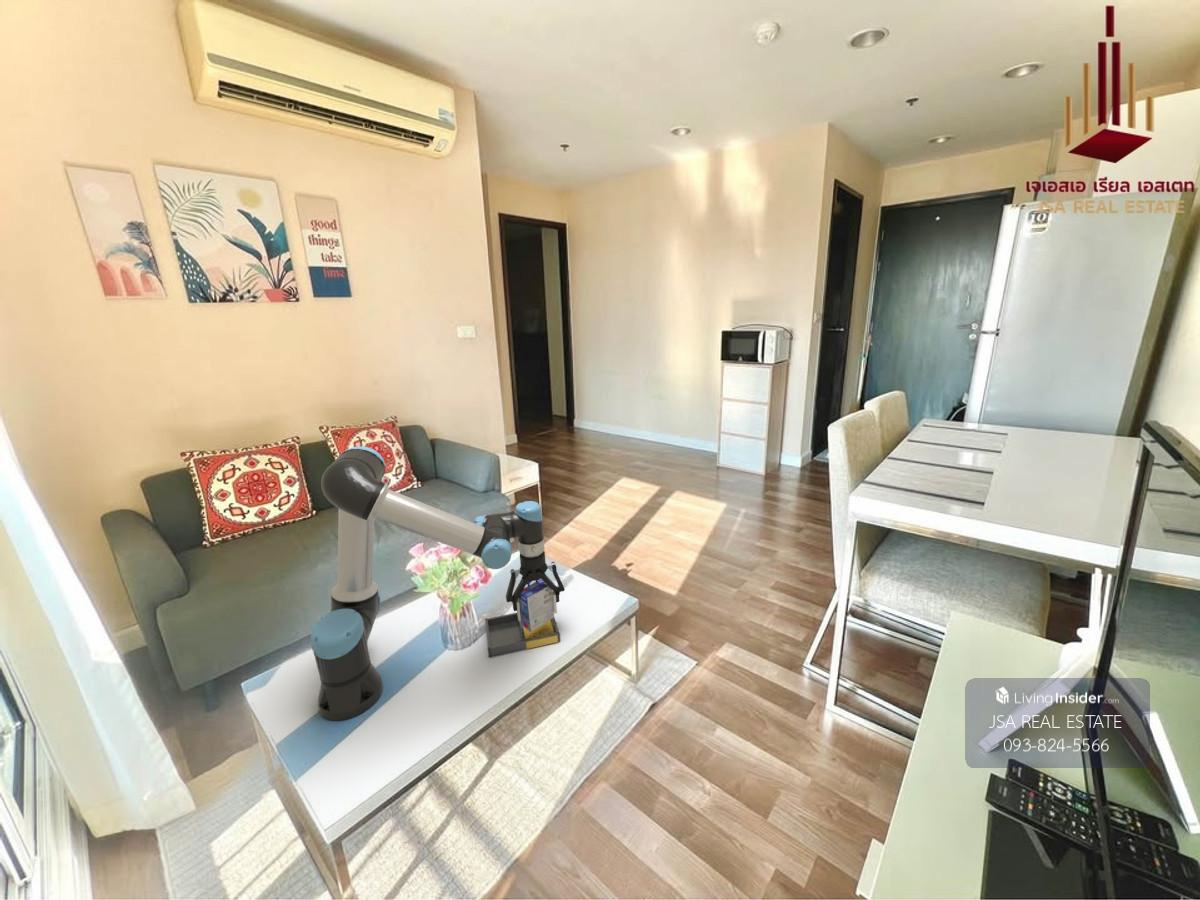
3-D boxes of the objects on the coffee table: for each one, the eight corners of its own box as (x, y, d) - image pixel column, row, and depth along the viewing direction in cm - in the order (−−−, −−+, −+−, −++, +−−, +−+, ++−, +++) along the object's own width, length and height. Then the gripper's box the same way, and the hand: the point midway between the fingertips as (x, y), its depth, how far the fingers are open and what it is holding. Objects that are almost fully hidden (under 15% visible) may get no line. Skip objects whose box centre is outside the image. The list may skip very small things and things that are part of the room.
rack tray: (489, 658, 136) (488, 649, 135) (485, 626, 149) (484, 618, 148) (560, 642, 141) (559, 634, 140) (551, 613, 155) (550, 605, 154)
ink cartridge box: (544, 610, 151) (541, 571, 147) (555, 617, 147) (552, 577, 143) (519, 624, 144) (516, 584, 140) (530, 632, 141) (527, 591, 136)
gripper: (494, 564, 132) (501, 630, 139) (572, 551, 138) (575, 614, 145) (492, 552, 139) (498, 615, 145) (566, 539, 145) (570, 600, 152)
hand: (537, 614), depth 145 cm, fingers closed on ink cartridge box, 11 cm apart
